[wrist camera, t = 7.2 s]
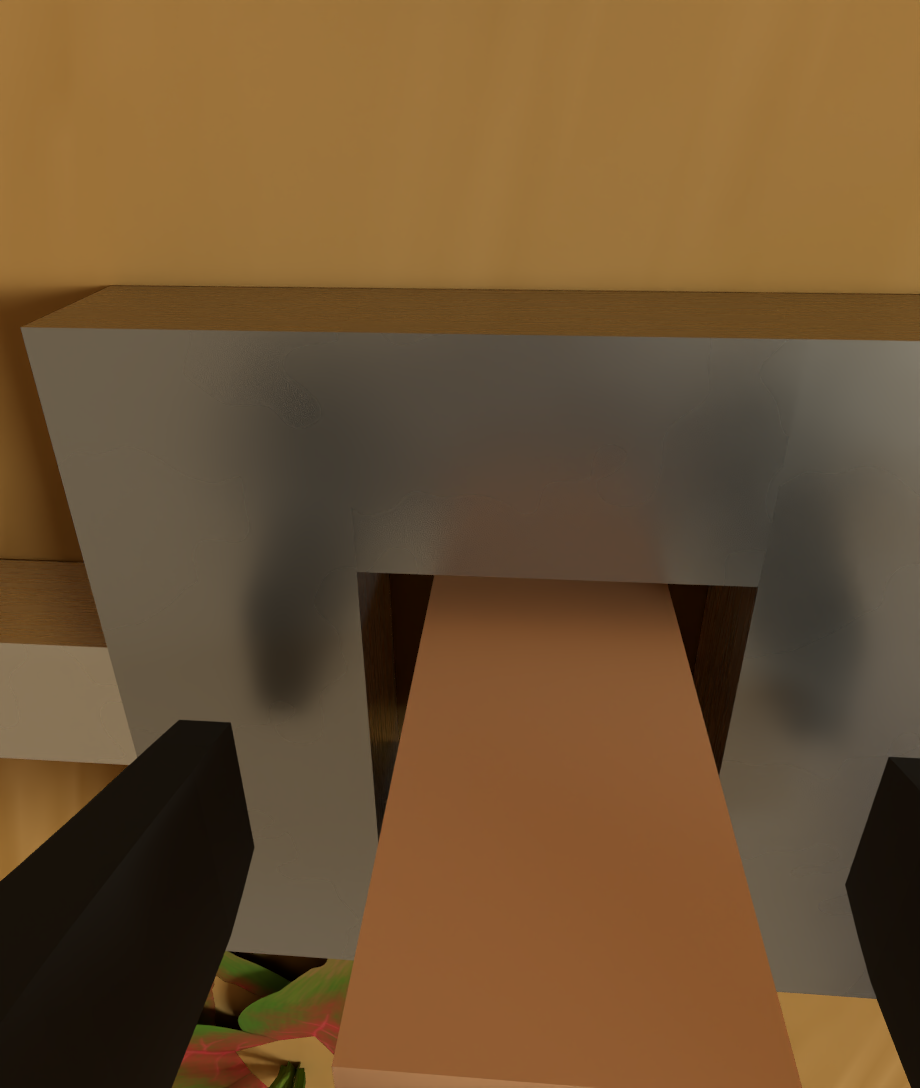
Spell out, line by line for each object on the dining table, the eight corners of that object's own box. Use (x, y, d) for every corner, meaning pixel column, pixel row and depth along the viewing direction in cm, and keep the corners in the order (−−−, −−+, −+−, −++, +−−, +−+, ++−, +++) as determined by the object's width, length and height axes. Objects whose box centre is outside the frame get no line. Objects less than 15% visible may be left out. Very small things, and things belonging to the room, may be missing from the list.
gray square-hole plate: (1054, 295, 9) (1176, 345, 7) (849, 886, 14) (894, 1000, 12) (-269, 281, 10) (-433, 320, 9) (-31, 830, 15) (-104, 926, 13)
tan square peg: (637, 716, 13) (732, 1303, 6) (445, 708, 13) (364, 1268, 7) (658, 549, 11) (805, 1104, 5) (441, 542, 11) (332, 1066, 5)
